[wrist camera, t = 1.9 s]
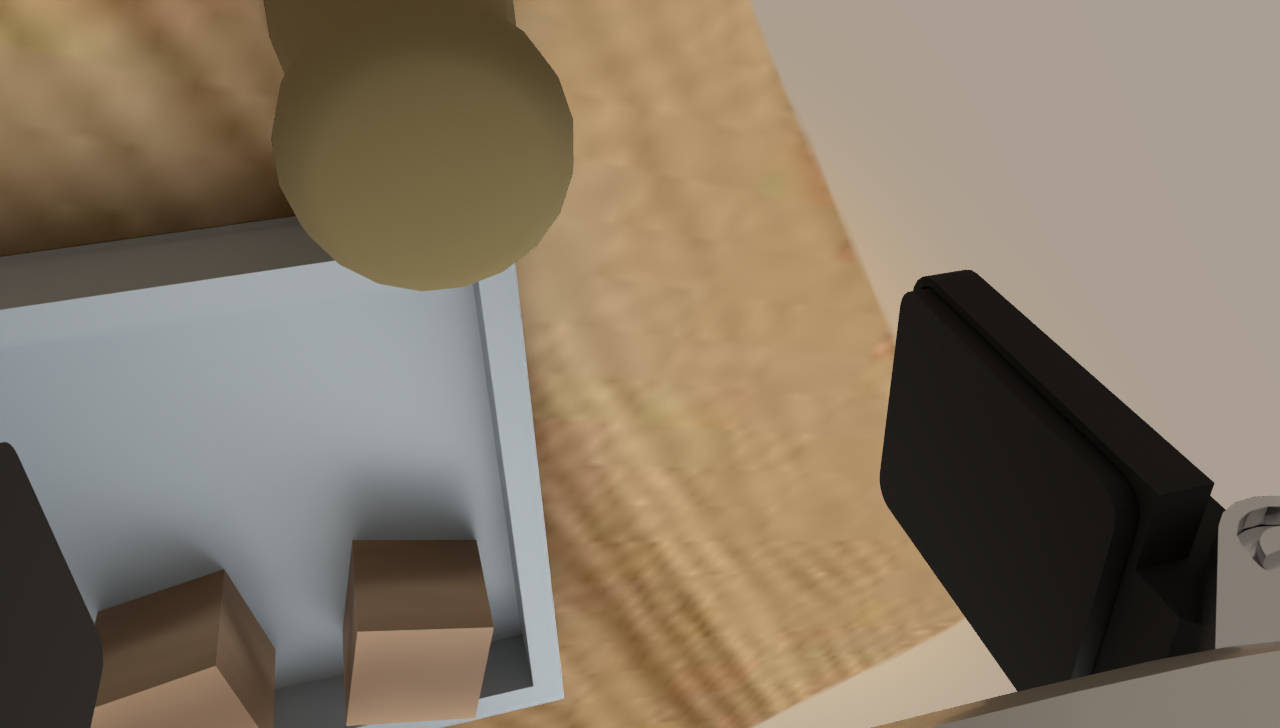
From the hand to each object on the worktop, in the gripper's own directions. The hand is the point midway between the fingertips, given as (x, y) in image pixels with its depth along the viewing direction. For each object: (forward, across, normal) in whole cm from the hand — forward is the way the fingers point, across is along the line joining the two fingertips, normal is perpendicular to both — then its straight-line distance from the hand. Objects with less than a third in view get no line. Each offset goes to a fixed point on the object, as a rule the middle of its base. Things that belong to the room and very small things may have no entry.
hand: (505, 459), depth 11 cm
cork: (+18, 0, 0) cm, 19 cm away
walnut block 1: (+18, +9, +18) cm, 27 cm away
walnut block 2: (+18, +2, +18) cm, 26 cm away
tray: (+18, +6, +14) cm, 24 cm away
